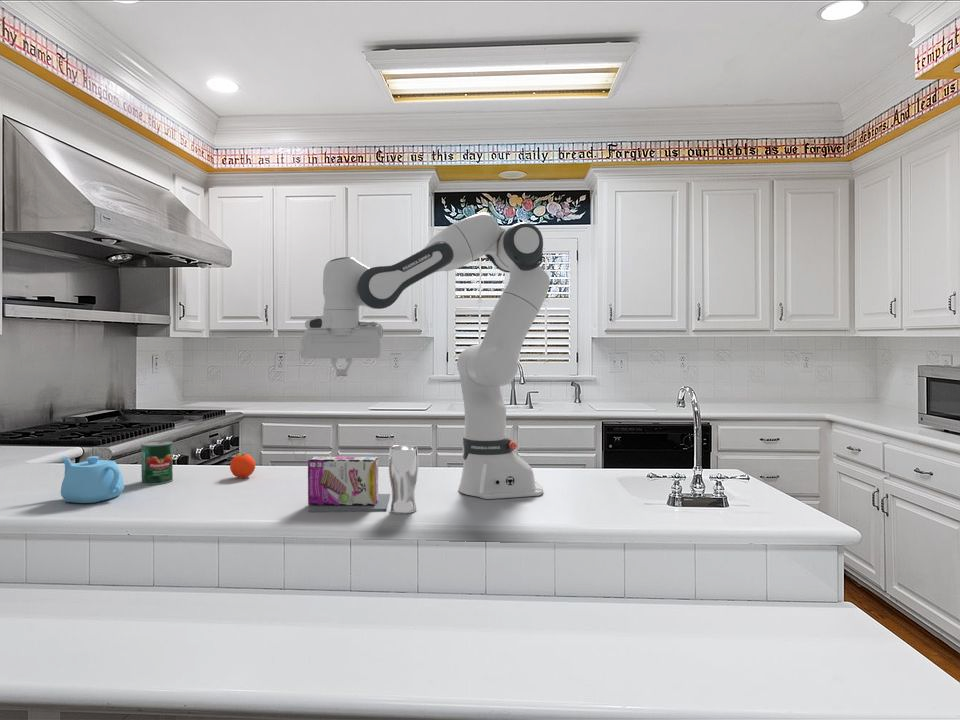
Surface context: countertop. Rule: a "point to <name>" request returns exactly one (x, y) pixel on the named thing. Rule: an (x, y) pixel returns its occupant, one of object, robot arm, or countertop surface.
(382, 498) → the grey rubber mat
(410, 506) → the beer glass
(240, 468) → the clementine
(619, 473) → the countertop surface
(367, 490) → the candy bar box
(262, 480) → the countertop surface
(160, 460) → the canned tomato
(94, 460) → the teapot
